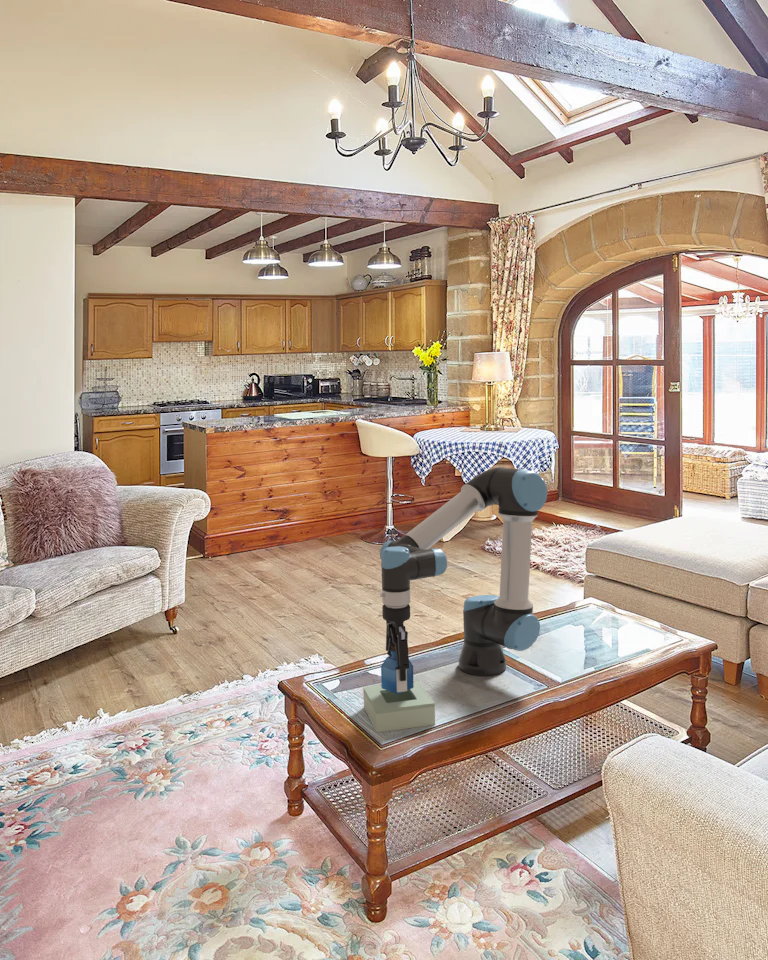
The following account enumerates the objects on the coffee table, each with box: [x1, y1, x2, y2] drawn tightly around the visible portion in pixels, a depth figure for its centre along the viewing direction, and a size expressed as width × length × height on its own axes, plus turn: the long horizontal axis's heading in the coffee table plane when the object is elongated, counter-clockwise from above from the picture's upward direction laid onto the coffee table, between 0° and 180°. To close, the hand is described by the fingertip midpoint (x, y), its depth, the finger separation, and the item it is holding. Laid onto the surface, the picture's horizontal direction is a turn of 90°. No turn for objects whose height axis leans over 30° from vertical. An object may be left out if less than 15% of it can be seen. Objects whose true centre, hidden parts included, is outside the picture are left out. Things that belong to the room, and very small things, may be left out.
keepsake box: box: [362, 680, 436, 733], centre depth 207 cm, size 16×16×6 cm
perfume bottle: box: [380, 644, 414, 694], centre depth 205 cm, size 6×6×12 cm
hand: (397, 684), depth 206 cm, fingers closed on perfume bottle, 8 cm apart
